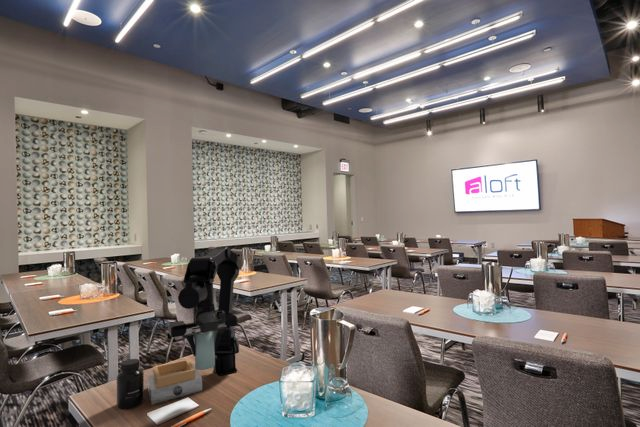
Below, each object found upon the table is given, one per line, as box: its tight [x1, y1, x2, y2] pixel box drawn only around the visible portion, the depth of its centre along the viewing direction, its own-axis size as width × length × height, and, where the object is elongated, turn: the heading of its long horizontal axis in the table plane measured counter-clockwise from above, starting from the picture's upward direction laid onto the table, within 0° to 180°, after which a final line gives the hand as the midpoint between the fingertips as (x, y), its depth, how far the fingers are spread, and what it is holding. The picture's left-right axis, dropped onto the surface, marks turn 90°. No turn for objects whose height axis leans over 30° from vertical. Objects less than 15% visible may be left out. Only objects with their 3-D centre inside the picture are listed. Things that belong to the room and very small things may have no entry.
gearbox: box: [146, 358, 203, 405], centre depth 109 cm, size 14×13×6 cm
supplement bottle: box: [116, 358, 145, 410], centre depth 101 cm, size 7×7×12 cm
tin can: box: [193, 328, 215, 371], centre depth 103 cm, size 6×6×10 cm
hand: (204, 353), depth 103 cm, fingers closed on tin can, 5 cm apart
